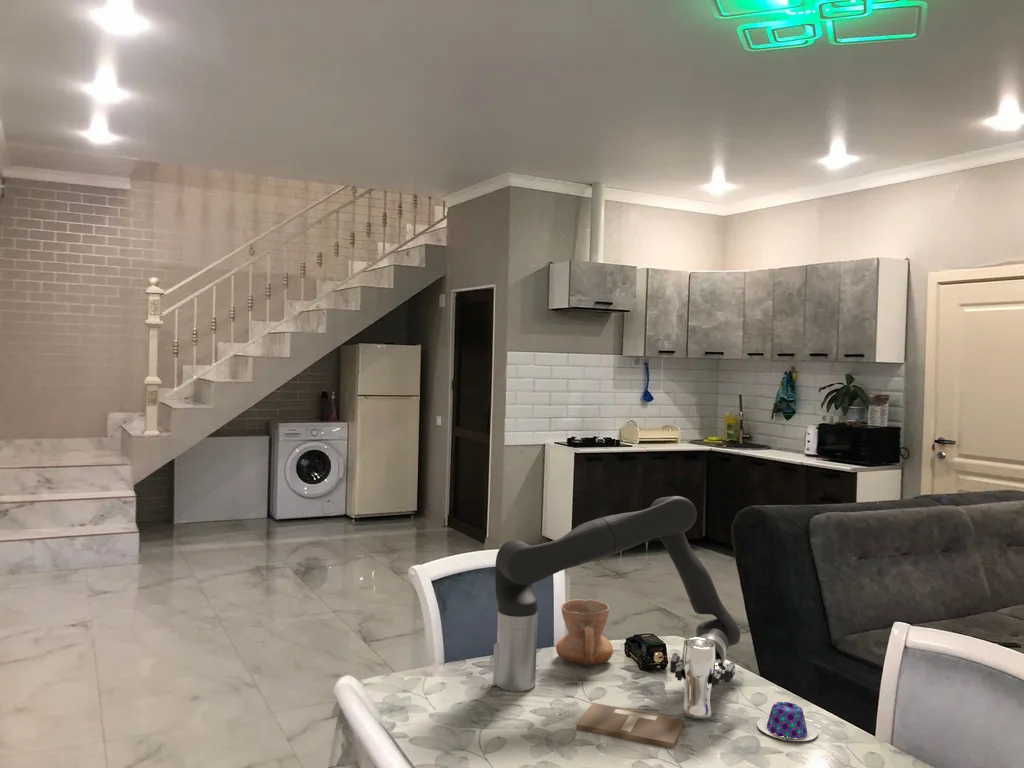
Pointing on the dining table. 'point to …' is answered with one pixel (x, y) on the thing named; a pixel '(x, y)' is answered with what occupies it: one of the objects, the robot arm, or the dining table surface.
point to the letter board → (631, 724)
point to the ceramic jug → (584, 633)
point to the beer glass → (697, 676)
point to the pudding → (787, 722)
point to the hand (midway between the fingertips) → (696, 678)
